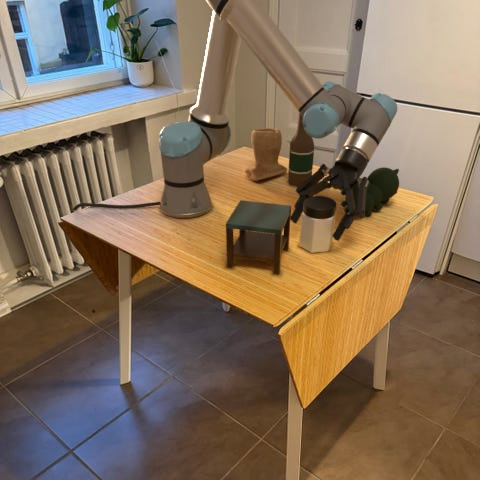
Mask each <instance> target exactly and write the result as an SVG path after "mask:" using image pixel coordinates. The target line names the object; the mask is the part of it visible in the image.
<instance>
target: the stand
mask: <svg viewBox="0 0 480 480" xmlns="http://www.w3.org/2000/svg"><path fill="white" fill-rule="evenodd" d="M291 215H292V205H290V204H289V205H288V204H279V203H270V202H260V201H252V200H242V199H241V200H239V201H238V203H237V205H236V206H235V208H234V210H233V211H232V213H231V214H230V216H229V218H228V219H227V221H226V222H225V239H226V241H225V242H226V243H225V244H226V245H225V246H226V268H227V269H233V268H234V266H235V258H238V259H239V258H240V259H247V260H254V261H261V262H268V263H273V270H272V271H273V273H272V274H273V275H277V276H279V275H280V273H281V264H282V263H281V261H282V253H283V251H284V252H285V251H286V252H288V251H289V249H290V235H291V222H292V221H291ZM234 230H239V233H238V237H237V238H236V240H235V241H234Z"/></svg>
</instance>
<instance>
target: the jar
mask: <svg viewBox="0 0 480 480" xmlns="http://www.w3.org/2000/svg"><path fill="white" fill-rule="evenodd" d="M336 216H337V201H336V200H335V199H334V198H331V197H329V196H326V195H325V196H324V195H314V196H312V197H309V198H306V199H305V200H304V205H303V212H302V214H301V216H300V218H301V219H300V229H299V243H298V246H299V247H300V248H302V249H304V250H305V251H307V252H309V253H311V254H313V253H324V252H329V251H330V249H331V246H332V244H333V241H334V240H333V239H334V237H333V234H334V232H335V224H336V218H337V217H336Z"/></svg>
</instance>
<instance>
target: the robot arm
mask: <svg viewBox="0 0 480 480" xmlns="http://www.w3.org/2000/svg"><path fill="white" fill-rule="evenodd" d="M205 1H206V3H207V4H208V6H209V7H210V8H211V10H212V14H211V20H210V25H209V32H208V37H207V44H206V49H205V55H204V61H203V65H202V72H201V77H200V84H199V89H198V93H197V94H198V95H197V101H196V104H194V105H193V106H191V107H190V109H189V115H188V120H180V121H176V122H172V123H169V124H167V125H165V126H164V127H163V128H162V129H161V130H160V132H159V137H158V138H159V143H158V144H159V145H158V146H159V151H160V158H161V165H162V176H163V189H162V193H161V199H160V201H155V202H147V203H146V202H145V203H138V204H109V203H91V202H80V203H78V204H76V205H74V207H73V208H72V211H77V210H78V209H80V208H81V207H91V208H105V209H106V208H107V209H137V208H138V209H139V208H147V207H155V206H160V210H161V212H162V213H163V214H164V215H165V216H168V217H171V218H175V219H194V218H198V217H200V216H204V215H205V214H207V213H208V212H210V211H211V209H212V205H213V204H212V198H211V195H210V193H209V191H208V188H207V185H206V182H205V171H204V166H205V164H206V163H208V162H210V161H211V160H213V159H214V158H216V157H217V156H220V155H221V154H222V153H223V152H224V151H225V150H226V149H227V147H228V146H229V145H230V141H231V138H232V129H231V126H230V125H229V123H230V116H229V114H228V112H227V108H228V104H229V100H230V94H231V90H232V85H233V82H234V77H235V71H236V67H237V62H238V58H239V52H240V49H241V44H242V41H243V43H244V45H246V46H247V48H248V49H249V50H250V51H251V53H252V54H253V56H255V59H257V61H258V62H259V63H260V65H262V67H263V68H264V69H265V71H266V72H267V73H268V75H269V76H270V77H271V79H272V80H273V81H274V82H275V83H276V85H277V86H278V87H279V89H280V90H281V91H282V92H283V94H284V95H285V96H286V97H287V99H288V100H289V101H290V102H291V104H292V105H293V106H294V107H295V109H296V110H297V111H298V114H299V113H300V114H301V115H302V117H303V127H304V130H305V132H306V133H307V134H308V135H309V136H311V137H312V139H318V140H319V139H320V140H321V139H324V138H326V137H328V136H329V135H330V134H333V133H334V132H335V131H336V130H337V128H338V127H339V126H340V125H341V124H342V125H344V126H346V127H348V128H350V129H352V131H351V133H350V134H349V136H348V137H347V139H346V141H345V143H344V144H343V147H342V149H341V150H340V152H339V154H338V155H337V157H336V159H335V161H334V164H333V166H332V167H331V168H330V167H329V166H327V165H326V164H325V163H322V164H321V165H320V166H319V168H318V169H317V170H316V171H315V172H314V173H312V176H311V177H309V178H308V179H307V180H306V181H305V182H304V183H302V184H301V185H300V186H299V187H296V188H295V192H296V194H298V198H297V200H296V202H295V203H294V206H293V207H294V210H293V212H291V222H292V223H293V224H297V223H298V221H299V219H300V218H301V217H302V213H303V205H304V200H305V199H306V198H309V197H312V196H317V195H318V194H320V193H322V192H323V191H325V190H327V189H328V190H329V189H331V188H332V189H334V190H339V191H340V192H341V191H345V192H346V198H347V203H348V209H349V213H345V212H344V214H343V216H342V218H341V220H340V221H339V223H338V225H337V227H336V229H334V232H333V239H334V240H335V241H336V242H339V241H340V239H341V237H342V236H343V234H344V233H345V231H346V230H349V229H350V228H351V226H352V225H353V223H354V220H355V219H358V218H359V219H364V218H365V217H366V215H365V205H366V191H367V188H368V186H369V181H368V179H367V178H368V176H363V177H361V176H362V175H363V173H364V171H365V170H366V168H367V166H368V163H369V162H370V160H371V159H372V157H373V156H374V154H375V152H376V150H377V149H378V147H379V146H380V143H381V141H382V140H383V138H384V136H385V135H386V133H387V131H388V130H389V128H390V127H391V124H392V122H393V120H394V118H395V117H396V115H397V112H398V105H397V102H396V101H395V99H394V98H393V97H391V96H389V95H388V94H387V93H381V92H376V93H374V94H372V96H371V97H369V98H367V97H364V96H362V95H360V94H358V93H356V92H354V91H352V90H350V89H348V88H347V87H344V86H342V85H341V84H339V83H335V82H332V81H326V82H324V83H323V84H322V83H321V82H320V80H319V79H318V78H317V76H316V75H315V74H314V73H313V71H312V69H310V67H309V66H308V64H306V62H305V61H304V59H303V58H302V57H301V55H300V54H299V53H298V51H297V50H296V49H295V47H294V46H293V45H292V44H291V42H290V41H289V39H288V38H287V37H286V35H285V34H284V33H283V32H282V30H281V29H280V28H279V27H278V25H277V23H276V22H275V21H274V20H273V19H272V17H271V16H270V15H269V14H268V12H267V11H266V9H265V8H264V7H263V6H262V4H261V3H260V1H259V0H205ZM368 161H369V162H368ZM367 162H368V163H367ZM357 183H358V185H359V191H358V204H357V211H356V207H355V202H354V196H353V189H352V187H353V186H354V185H356V184H357ZM91 311H92V312H91V313H93V314H95V313H96V310H95V309H91Z"/></svg>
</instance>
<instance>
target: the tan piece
mask: <svg viewBox="0 0 480 480" xmlns="http://www.w3.org/2000/svg"><path fill="white" fill-rule="evenodd" d="M282 139H283V138H282V132H281V130H280V129H279V128H271V127H262V128H256V129H253V130H252V132H251V138H250V143H251V148H252V151H253V157H254V163H253V165H252V166H251V167H248V168H247V169H244V172H245V174H246V176H247V177H248V178H249V179H250V180H251V181H256V182H257V181H260V180H261V181H262V180H264V179H270V178H272V177H276V176H278V175H281V174H285V173H287V172H288V171H289V168H287V167H286V166H284V165H282V164H280V163H279V157H280V153H281V150H282V142H283V141H282Z"/></svg>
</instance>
